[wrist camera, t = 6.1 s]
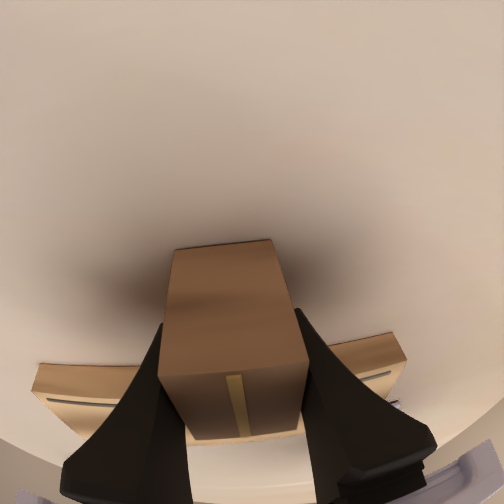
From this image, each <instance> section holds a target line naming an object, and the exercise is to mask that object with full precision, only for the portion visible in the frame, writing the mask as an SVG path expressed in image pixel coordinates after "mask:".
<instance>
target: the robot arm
mask: <svg viewBox="0 0 504 504" xmlns="http://www.w3.org/2000/svg"><path fill="white" fill-rule="evenodd" d="M294 312H295V315H296V318H297V321H298V325H299V328H300V331H301V334H302V338H303V341H304V344H305V348H306V351H307V354H308V358H309V366H308V372H307V378H306V384H305V389H304V395H303V400H302V406H301V414H302V418H303V422H304V427H305V432H306V437H307V443H308V448H309V454H310V460H311V466H312V472H313V478H314V485H315V492H316V500H317V504H481V503H483V502H484V501H485V500H487V499H488V498H489V497H490V496H492V495H493V494H494V493H496V492H497V491H498V490H500V489H501V488H502V487H503V486H504V471H503V468H502V466H501V463H500V461H499V459H498V456H497V454H496V451H495V449H494V447H493V444H492V443H491V440H490V439H488V440H486V441H484V442H483V443H481V444H480V445H478V446H476V447H475V448H473V449H471V450H470V451H468V452H467V453H465V454H464V455H462V456H461V457H459V459H457V460H455V461H454V462H452V463H450V464H448V465H446V466H444V467H442V468H441V469H438V470H436V471H434V472H432V473H430V474H428V475H426V476H424V475H423V472H422V470H423V469H424V464H423V461H422V460H424V459H425V458H426V457H428V456H429V455H430V454H432V453H433V452H434V451H435V450H436V448H437V443H436V441H435V439H434V436H433V434H432V433H431V431H430V429H429V428H428V426H427V425H425V424H423V423H421V422H419V421H417V420H416V419H414V418H412V417H410V416H409V415H407V414H405V413H404V412H402V411H400V410H399V407H400V406H401V404H400V402H396V403H393V404H390V403H389V402H387V401H386V400H384V399H383V398H382V397H380V396H379V395H378V394H376V393H375V392H374V391H372V390H371V389H370V388H369V387H368V386H366V385H365V384H364V383H363V382H362V381H361V380H360V379H358V378H357V377H356V376H355V375H354V374H353V373H352V372H351V371H350V370H349V369H348V368H347V367H346V366H345V365H344V364H343V363H342V362H341V361H340V360H339V358H338V357H337V356H336V355H335V354H334V353H333V352H332V351H331V349H330V348H329V347H328V346H327V345H326V343H325V342H324V341H323V340H322V338H321V337H320V336H319V335H318V333H317V332H316V331H315V329H314V328H313V327H312V325H311V324H310V322H309V321H308V319H307V318H306V316H305V315H304V313H303V312H302V310H301V309H300V308H295V309H294ZM162 331H163V323H161V324H160V326H159V328H158V330H157V333H156V335H155V337H154V339H153V342H152V344H151V346H150V348H149V350H148V352H147V354H146V356H145V358H144V360H143V362H142V364H141V366H140V368H139V369H138V371H137V373H136V375H135V376H134V378H133V380H132V382H131V383H130V385H129V387H128V388H127V390H126V392H125V393H124V395H123V396H122V398H121V399H120V401H119V402H118V404H117V405H116V406H115V408H114V409H113V410H112V412H111V413H110V414H109V416H108V417H107V418H106V420H105V421H104V422H103V423H102V424H101V426H100V427H99V428H98V429H97V430H96V431H95V432H94V433H93V435H92V436H91V437H90V438H89V439H88V440H87V441H86V442H85V443H84V444H83V445H82V446H81V447H80V448H79V449H78V450H77V451H76V452H74V453H73V454H72V455H71V456H70V457H69V458H68V459H67V460H66V461H64V464H63V468H62V473H61V482H60V493H61V494H62V495H63V496H65V497H68V498H70V499H72V500H75V501H77V502H80V503H82V504H193V499H192V493H191V486H190V479H189V471H188V461H187V449H186V434H185V427H186V425H185V423H184V421H183V420H182V418H181V417H180V415H179V413H178V412H177V410H176V408H175V406H174V405H173V403H172V401H171V400H170V398H169V396H168V394H167V393H166V391H165V389H164V387H163V385H162V384H161V382H160V380H159V378H158V366H159V356H160V347H161V339H162ZM16 504H57V503H53V502H51V501H49V500H47V499H45V498H42V497H40V496H37V495H35V494H31V493H29V492H26V491H24V490H21V489H17V496H16Z"/></svg>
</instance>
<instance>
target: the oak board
mask: <svg viewBox="0 0 504 504" xmlns="http://www.w3.org/2000/svg"><path fill="white" fill-rule="evenodd" d="M328 347H329V348H330V349H331V351H332V352H333V353H334V354H335V355H336V356H337V357H338V358H339V360H340V361H341V362H342V363H343V364H344V365H345V366H346V367H347V368H348V369H349V370H350V371H351V372H352V373H353V374H354V375H355V376H356V377H357V378H358V379H360V380H361V381H362V382H363V383H364V384H365V385H366V386H368V387H369V388H370V389H371V390H372V391H374V392H375V393H376V394H378V395H379V396H380V397H382V398H383V399H384V400H385V399H386V397H387V395H388V394H389V392H390V390H391V389H392V387H393V385H394V384H395V382H396V380H397V379H398V377H399V375H400V373H401V371H402V370H403V368H404V366H405V364H406V362H407V358H406V356H405V354H404V353H403V351H402V349H401V347H400V345H399V343H398V341H397V339H396V338H395V336H394V334H393V332H391V333H387V334H383V335H379V336H375V337H370V338H366V339H361V340H357V341H352V342H347V343H342V344H337V345H332V346H328ZM139 368H140V366H124V367H106V366H69V365H51V364H40V366H39V369H38V372H37V375H36V377H35V380H34V383H33V386H32V390H31V392H32V393H33V394H34V395H35V396H36V397H37V398H38V399H39V400H40V401H41V402H42V403H43V404H44V405H45V406H47V407H48V408H49V409H50V410H51V411H52V412H53V413H54V414H55V415H56V416H57V417H58V418H59V419H61V420H62V421H63V422H64V423H65V424H66V425H67V426H69V427H70V428H71V429H72V430H73V431H74V432H76V433H77V434H78V435H79V436H81V437H82V438H83V439H84V440H88V439H89V438H90V437H91V436H92V435H93V433H94V432H95V431H96V430H97V429H98V428H99V427H100V426H101V424H102V423H103V422H104V421H105V420H106V418H107V417H108V416H109V414H110V413H111V412H112V410H113V409H114V408H115V406H116V405H117V404H118V402H119V401H120V399H121V398H122V396H123V395H124V393H125V392H126V390H127V388H128V387H129V385H130V383H131V382H132V380H133V378H134V376H135V375H136V373H137V371H138V369H139ZM304 433H306V432H305V427H304V422H303V418H302V414H301V411H300V416H299V421H298V426H297V430H292V431H286V432H280V433H273V434H266V435H258V436H251V437H245V438H241V437H240V438H229V439H215V440H195V439H194V437H193V436H192V434H191V433H190V431H189V430H188V428H187V426H186V427H185V434H186V446H198V445H218V444H231V443H242V442H251V441H260V440H267V439H274V438H281V437H287V436H293V435H299V434H304Z"/></svg>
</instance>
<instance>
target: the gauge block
mask: <svg viewBox="0 0 504 504" xmlns="http://www.w3.org/2000/svg"><path fill="white" fill-rule="evenodd" d="M308 366H309V358H308V354H307V351H306V348H305V344H304V341H303V338H302V334H301V331H300V328H299V325H298V321H297V318H296V315H295V312H294V308H293V305H292V302H291V299H290V296H289V292H288V289H287V286H286V283H285V280H284V277H283V273H282V270H281V267H280V264H279V261H278V258H277V255H276V252H275V248H274V245H273V242H272V240H267V241H258V242H248V243H239V244H229V245H220V246H211V247H202V248H193V249H184V250H175V251H174V257H173V263H172V269H171V275H170V281H169V287H168V294H167V301H166V308H165V315H164V323H163V331H162V339H161V347H160V356H159V366H158V378H159V380H160V382H161V384H162V385H163V387H164V389H165V391H166V393H167V394H168V396H169V398H170V400H171V401H172V403H173V405H174V406H175V408H176V410H177V412H178V413H179V415H180V417H181V418H182V420H183V421H184V423H185V425H186V426H187V428H188V430H189V431H190V433H191V434H192V436H193V437H194V439H195V440H215V439H229V438H240V437H241V438H245V437H251V436H258V435H266V434H273V433H280V432H286V431H292V430H297V426H298V421H299V416H300V411H301V406H302V400H303V395H304V389H305V384H306V378H307V372H308Z"/></svg>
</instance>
